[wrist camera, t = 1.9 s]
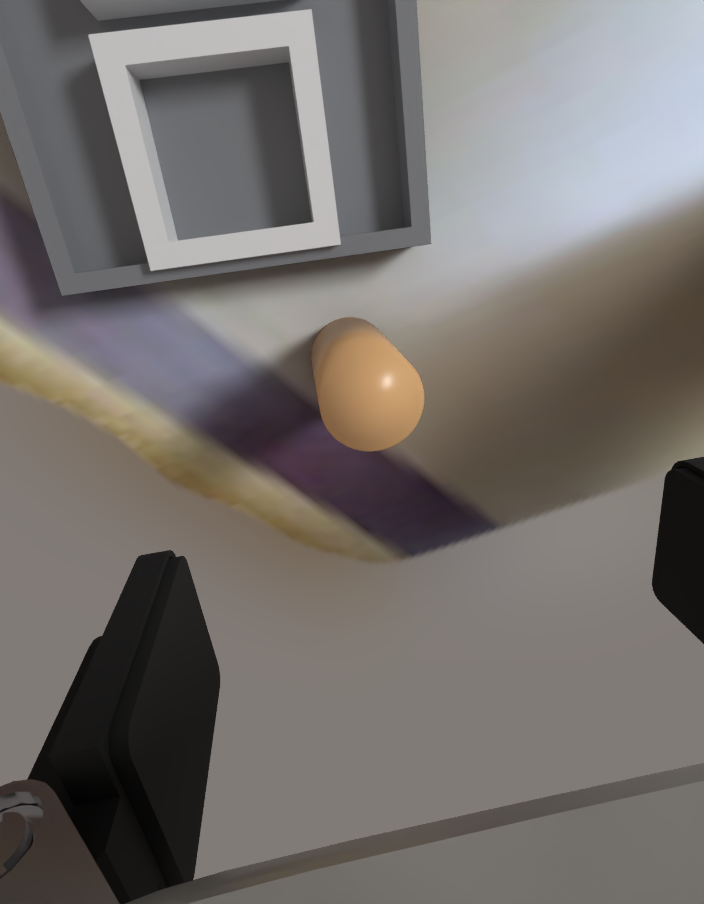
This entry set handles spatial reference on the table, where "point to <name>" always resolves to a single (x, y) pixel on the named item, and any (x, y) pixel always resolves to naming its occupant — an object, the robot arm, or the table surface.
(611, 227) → the table surface
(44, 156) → the tray
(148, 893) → the robot arm
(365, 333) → the rounded peg
